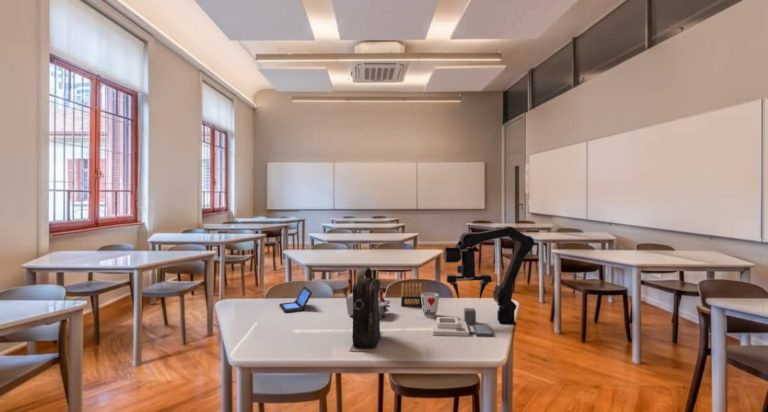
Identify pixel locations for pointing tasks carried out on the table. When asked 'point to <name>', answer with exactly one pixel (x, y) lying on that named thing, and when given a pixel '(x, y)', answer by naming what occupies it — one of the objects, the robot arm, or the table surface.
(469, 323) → the charger block
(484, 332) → the phone
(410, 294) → the ammunition clip
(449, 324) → the outlet plate
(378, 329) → the shoulder bag
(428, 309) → the cup
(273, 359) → the table surface
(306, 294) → the handheld game console
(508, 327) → the table surface
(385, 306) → the cell model
